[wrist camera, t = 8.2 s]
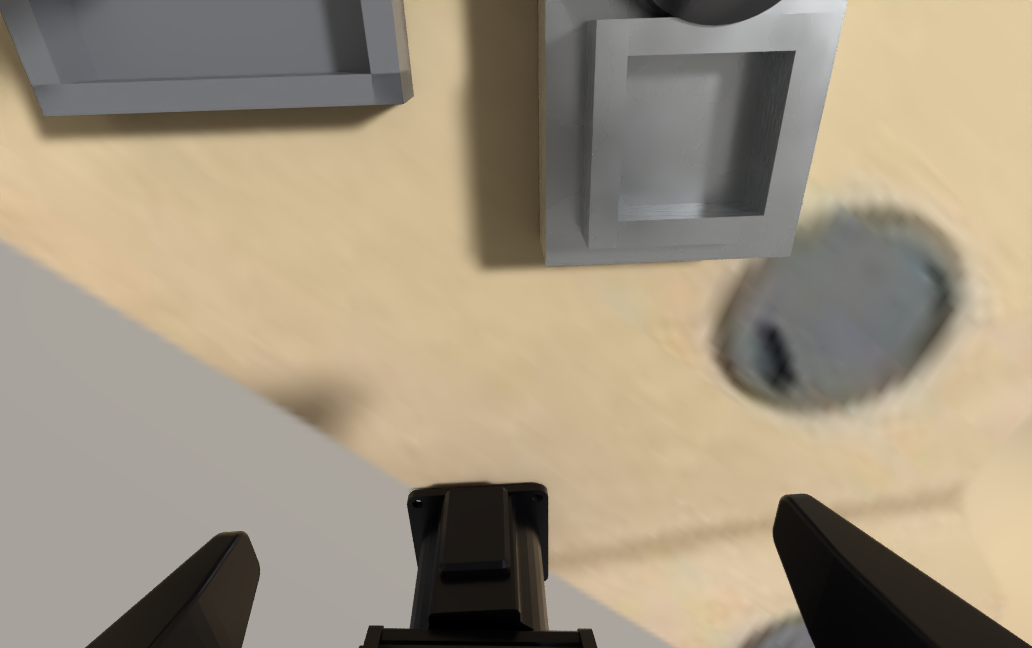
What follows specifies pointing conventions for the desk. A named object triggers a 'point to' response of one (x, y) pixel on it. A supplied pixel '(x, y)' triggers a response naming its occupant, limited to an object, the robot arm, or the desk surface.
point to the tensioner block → (678, 125)
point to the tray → (210, 54)
